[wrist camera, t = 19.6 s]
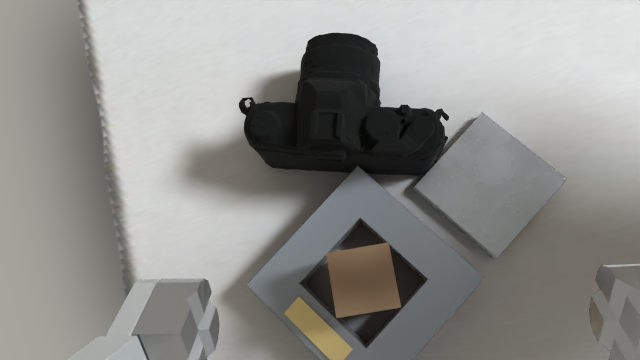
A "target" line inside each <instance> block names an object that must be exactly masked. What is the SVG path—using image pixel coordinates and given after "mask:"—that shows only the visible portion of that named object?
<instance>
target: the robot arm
mask: <svg viewBox="0 0 640 360" xmlns="http://www.w3.org/2000/svg"><path fill="white" fill-rule="evenodd" d="M596 282H597V284H598V285H599V287H600V290H599V291H598V292H596V293H595V294H594V295H593V296H592V297H591V303H590V308H589V312H590V323H591V326H592V329H593V333H594V335H595V337H596V339H597V341H598V343H599V344H601V345H602V346H603V347H605V348H606V349H608V350H609V351H611V352H610V356H609V360H640V264H617V265H602V266H601V267H600V268H599V270H598V272H597V276H596ZM211 292H212V291H211V288H210V285H209V282H208V280H206V279H161V280H139V281H137V282H136V283H135V284H134V285H133V287H132V289H131V290H130V292H129V294H128V296H127V298H126V299H125V301H124V303H123V305H122V307H121V309H120V310H119V312H118V314H117V316H116V318H115V319H114V322H113V323H112V325H111V327H110V329H109V331H108V332H107V334H106V336H99V337H97V338H96V339H95V340H93V341H92V342H90V343H89V344H88V345H86V346H85V347H83V348H82V349H81V350H79V351H78V352H77V353H75V354H74V355H72V356H71V357H70V358H68V359H67V360H207V357H208V356H209V355H210V354H211V353H212V352H213V351H214V350H215V348H216V345H217V341H218V335H219V317H218V312H217V309H216V306H214V305H213V304H212V303H211V302H209V298H210V295H211Z"/></svg>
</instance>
